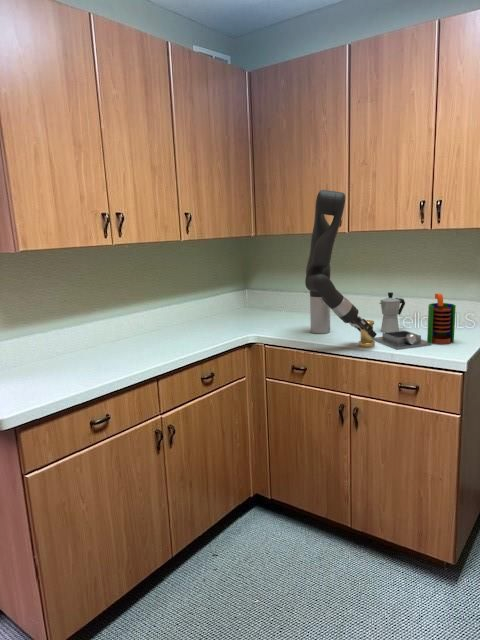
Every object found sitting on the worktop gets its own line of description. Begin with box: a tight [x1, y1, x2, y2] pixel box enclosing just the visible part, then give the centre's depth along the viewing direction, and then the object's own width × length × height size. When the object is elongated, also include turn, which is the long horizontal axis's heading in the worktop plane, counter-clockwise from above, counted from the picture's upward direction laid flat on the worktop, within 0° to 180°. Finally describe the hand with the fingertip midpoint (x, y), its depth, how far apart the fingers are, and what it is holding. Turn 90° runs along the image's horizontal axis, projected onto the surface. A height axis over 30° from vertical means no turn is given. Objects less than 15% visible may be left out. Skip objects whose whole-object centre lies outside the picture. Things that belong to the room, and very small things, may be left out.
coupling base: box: [373, 330, 433, 351], centre depth 203 cm, size 18×16×5 cm
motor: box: [426, 292, 457, 346], centre depth 199 cm, size 10×9×20 cm
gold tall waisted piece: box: [358, 319, 376, 349], centre depth 200 cm, size 6×6×10 cm
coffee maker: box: [379, 291, 406, 333], centre depth 224 cm, size 15×9×18 cm, turn 115°
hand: (369, 334), depth 201 cm, fingers open, 8 cm apart
